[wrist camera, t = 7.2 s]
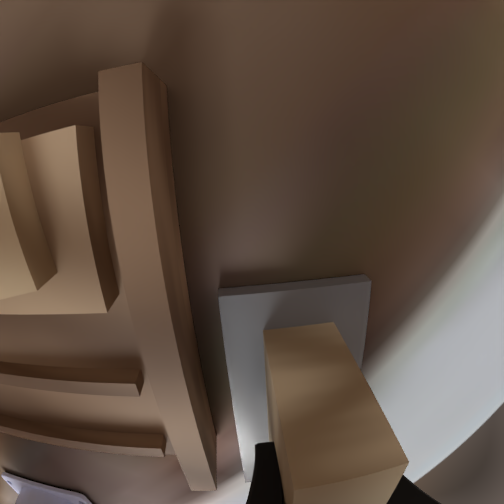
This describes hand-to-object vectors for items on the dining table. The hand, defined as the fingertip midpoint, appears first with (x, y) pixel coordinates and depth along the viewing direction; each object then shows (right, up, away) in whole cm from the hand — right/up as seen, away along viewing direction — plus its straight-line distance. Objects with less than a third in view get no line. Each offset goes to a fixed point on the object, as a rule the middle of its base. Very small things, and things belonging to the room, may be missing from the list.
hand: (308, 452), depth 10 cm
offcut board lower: (-11, +8, -2) cm, 14 cm away
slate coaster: (0, +1, +3) cm, 3 cm away
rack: (-11, +5, +1) cm, 12 cm away
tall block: (0, 0, +2) cm, 2 cm away
